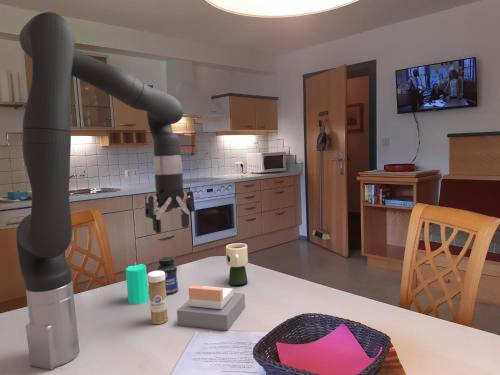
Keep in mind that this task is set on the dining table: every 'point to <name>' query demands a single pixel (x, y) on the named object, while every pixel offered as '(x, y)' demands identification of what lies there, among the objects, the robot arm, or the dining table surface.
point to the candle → (137, 284)
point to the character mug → (237, 263)
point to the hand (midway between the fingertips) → (172, 230)
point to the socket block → (212, 314)
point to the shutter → (209, 296)
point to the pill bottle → (169, 274)
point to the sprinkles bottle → (157, 297)
